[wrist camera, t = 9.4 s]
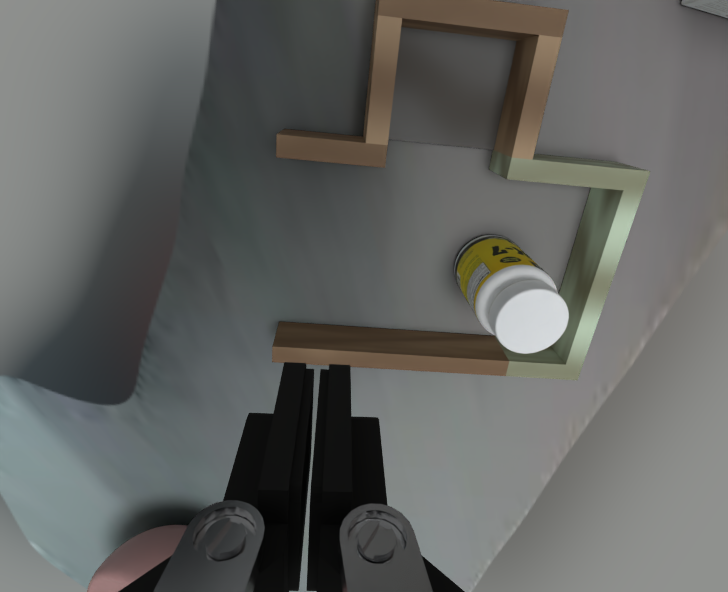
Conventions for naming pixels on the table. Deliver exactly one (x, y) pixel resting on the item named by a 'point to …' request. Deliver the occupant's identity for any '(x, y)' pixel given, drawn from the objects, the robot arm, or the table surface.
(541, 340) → the supplement bottle
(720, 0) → the small box
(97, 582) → the mortar and pestle
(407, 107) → the zigzag wooden rail
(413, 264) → the table surface
